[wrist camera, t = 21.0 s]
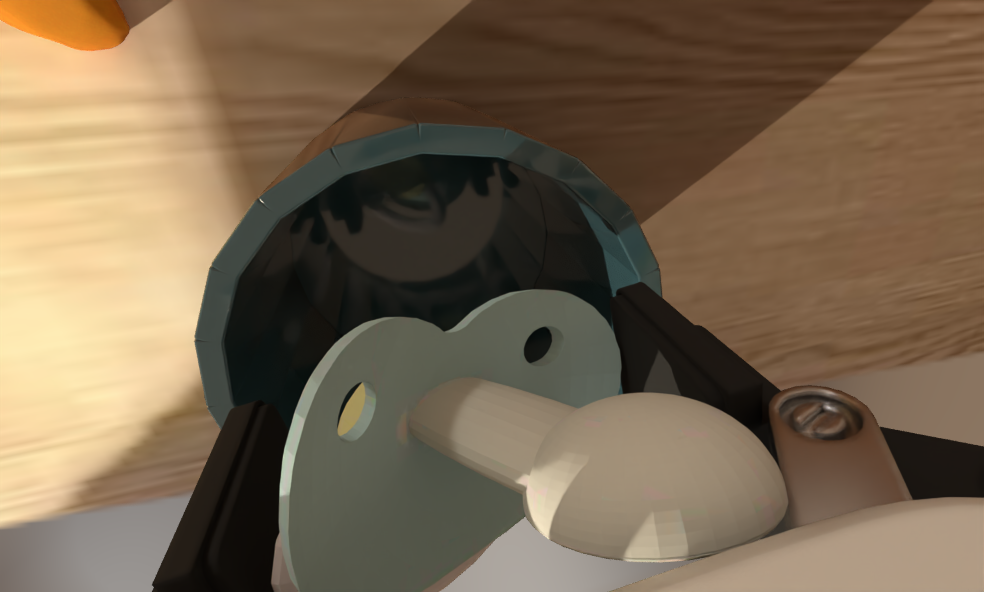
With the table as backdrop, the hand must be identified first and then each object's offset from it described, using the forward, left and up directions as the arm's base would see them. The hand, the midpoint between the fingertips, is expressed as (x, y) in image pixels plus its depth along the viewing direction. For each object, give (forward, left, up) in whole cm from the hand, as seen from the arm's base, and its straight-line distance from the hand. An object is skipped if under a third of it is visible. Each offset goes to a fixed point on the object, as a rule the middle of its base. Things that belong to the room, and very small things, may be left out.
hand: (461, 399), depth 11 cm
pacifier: (+1, 0, +1) cm, 1 cm away
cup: (0, 0, -11) cm, 11 cm away
